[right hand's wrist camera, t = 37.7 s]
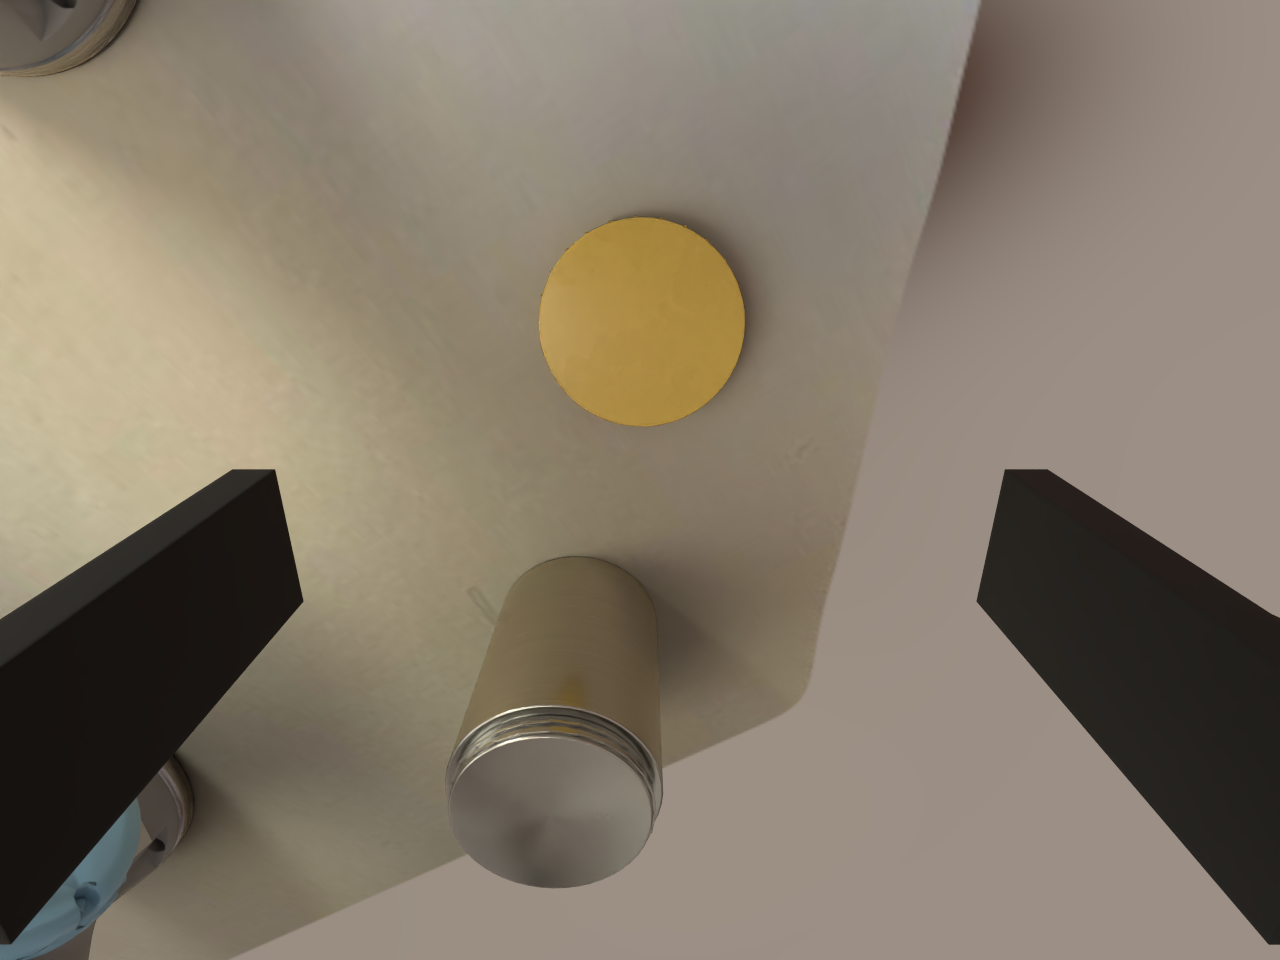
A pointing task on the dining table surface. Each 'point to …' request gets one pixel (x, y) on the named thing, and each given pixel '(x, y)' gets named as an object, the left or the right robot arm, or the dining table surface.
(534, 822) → the jar
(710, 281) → the lid
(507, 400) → the dining table surface
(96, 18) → the right robot arm
